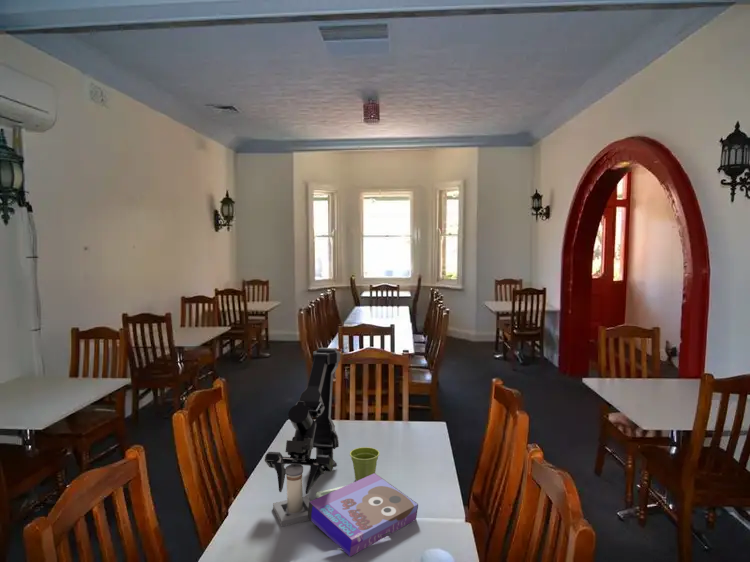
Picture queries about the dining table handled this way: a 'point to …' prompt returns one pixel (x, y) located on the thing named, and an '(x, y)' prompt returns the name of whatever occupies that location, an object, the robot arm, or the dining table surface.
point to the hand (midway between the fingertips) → (293, 492)
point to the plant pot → (364, 461)
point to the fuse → (294, 489)
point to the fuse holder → (291, 519)
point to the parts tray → (325, 492)
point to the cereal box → (362, 513)
